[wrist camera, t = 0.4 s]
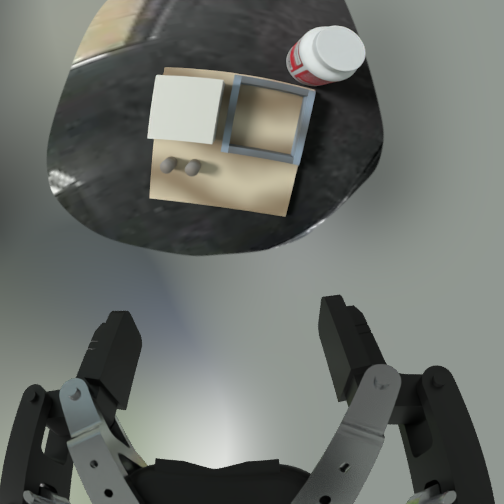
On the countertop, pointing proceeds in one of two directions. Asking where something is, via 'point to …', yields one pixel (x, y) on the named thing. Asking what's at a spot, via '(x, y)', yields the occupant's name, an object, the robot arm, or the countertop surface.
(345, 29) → the pill bottle
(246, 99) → the base board
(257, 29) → the countertop surface
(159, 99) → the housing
